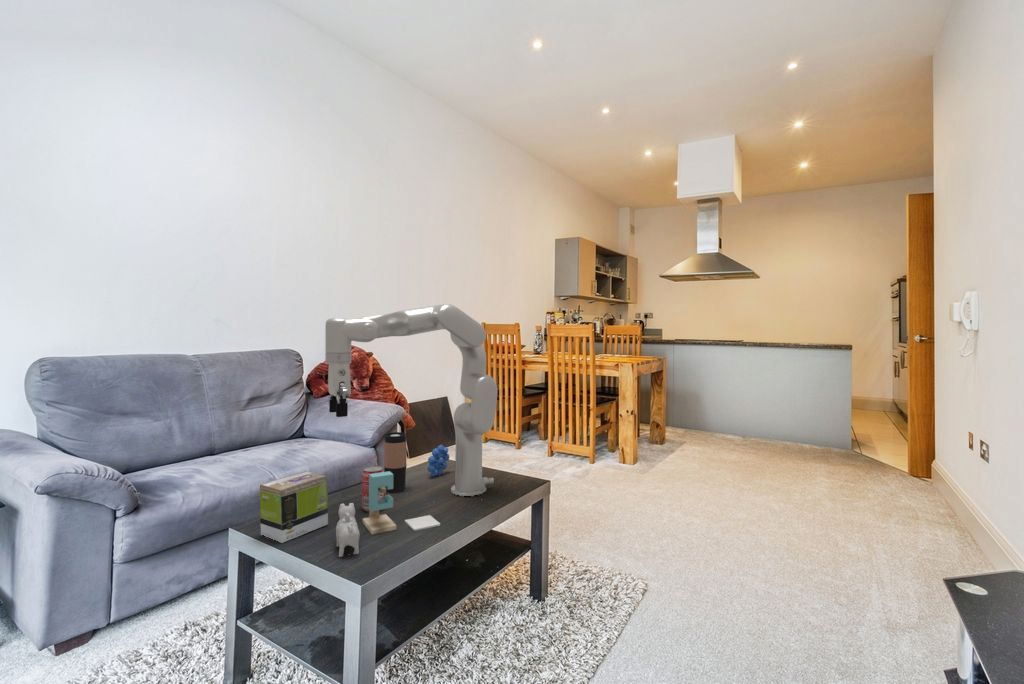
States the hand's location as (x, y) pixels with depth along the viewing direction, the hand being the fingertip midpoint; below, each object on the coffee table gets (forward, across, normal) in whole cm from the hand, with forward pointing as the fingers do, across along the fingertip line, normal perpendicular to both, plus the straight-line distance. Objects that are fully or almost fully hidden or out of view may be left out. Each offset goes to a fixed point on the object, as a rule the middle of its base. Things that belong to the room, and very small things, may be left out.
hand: (338, 414), depth 149 cm
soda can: (+31, 0, -11) cm, 33 cm away
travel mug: (+31, +15, -23) cm, 42 cm away
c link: (+25, -16, -8) cm, 31 cm away
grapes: (+31, +24, -43) cm, 58 cm away
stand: (+31, -15, -8) cm, 36 cm away
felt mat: (+31, -20, -20) cm, 42 cm away
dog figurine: (+32, -25, +3) cm, 40 cm away
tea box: (+32, -6, +13) cm, 35 cm away
